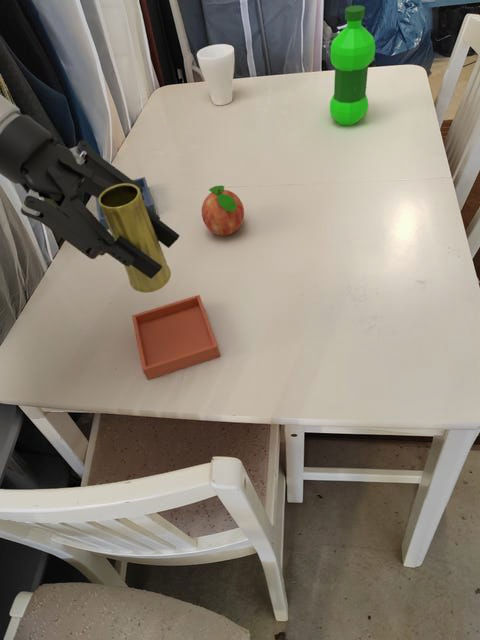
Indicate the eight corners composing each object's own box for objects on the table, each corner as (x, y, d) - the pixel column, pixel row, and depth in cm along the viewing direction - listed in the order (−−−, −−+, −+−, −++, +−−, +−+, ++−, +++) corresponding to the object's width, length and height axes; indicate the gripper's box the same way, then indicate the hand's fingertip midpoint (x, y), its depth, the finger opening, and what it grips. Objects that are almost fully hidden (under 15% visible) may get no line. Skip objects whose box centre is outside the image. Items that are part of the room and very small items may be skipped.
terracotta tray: (147, 380, 71) (142, 370, 69) (136, 325, 79) (131, 315, 76) (220, 356, 72) (217, 346, 70) (202, 305, 80) (199, 294, 78)
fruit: (211, 248, 89) (201, 207, 82) (201, 221, 96) (191, 181, 88) (251, 237, 90) (246, 195, 83) (239, 211, 96) (233, 170, 89)
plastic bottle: (328, 131, 113) (331, 19, 94) (328, 112, 120) (331, 3, 101) (368, 129, 112) (380, 14, 93) (366, 110, 118) (377, -2, 99)
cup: (219, 112, 128) (211, 62, 117) (198, 103, 134) (189, 53, 123) (247, 98, 131) (241, 48, 121) (225, 90, 137) (218, 41, 127)
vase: (163, 295, 62) (132, 211, 51) (123, 291, 63) (85, 209, 53) (176, 265, 66) (150, 181, 55) (139, 262, 67) (106, 180, 56)
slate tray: (103, 230, 98) (98, 220, 96) (98, 200, 106) (94, 190, 104) (156, 214, 99) (153, 204, 97) (147, 187, 107) (144, 176, 105)
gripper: (39, 121, 60) (177, 227, 68) (-52, 202, 49) (125, 317, 57) (55, 80, 55) (202, 201, 63) (-44, 161, 44) (150, 295, 52)
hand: (165, 256), depth 60 cm, fingers closed on vase, 5 cm apart
